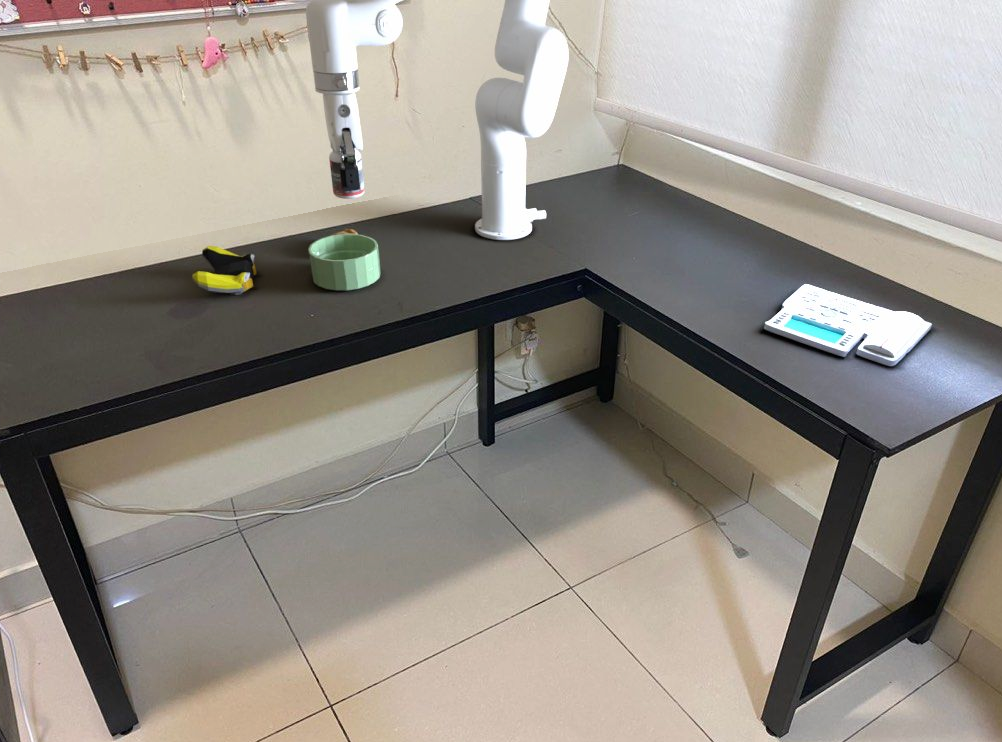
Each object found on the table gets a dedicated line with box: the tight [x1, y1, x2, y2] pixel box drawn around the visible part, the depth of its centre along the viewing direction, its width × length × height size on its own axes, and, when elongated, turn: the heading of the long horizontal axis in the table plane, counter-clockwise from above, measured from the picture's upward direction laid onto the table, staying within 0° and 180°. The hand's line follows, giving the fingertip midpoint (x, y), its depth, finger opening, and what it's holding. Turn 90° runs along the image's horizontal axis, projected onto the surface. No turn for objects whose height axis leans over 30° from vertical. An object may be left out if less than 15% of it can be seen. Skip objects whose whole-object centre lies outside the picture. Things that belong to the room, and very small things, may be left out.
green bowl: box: [307, 233, 381, 291], centre depth 154 cm, size 13×13×6 cm
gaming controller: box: [191, 245, 257, 296], centre depth 152 cm, size 15×6×10 cm
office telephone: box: [763, 283, 933, 367], centre depth 139 cm, size 23×3×20 cm
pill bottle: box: [328, 137, 365, 200], centre depth 145 cm, size 6×6×10 cm
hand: (347, 183), depth 146 cm, fingers closed on pill bottle, 5 cm apart
